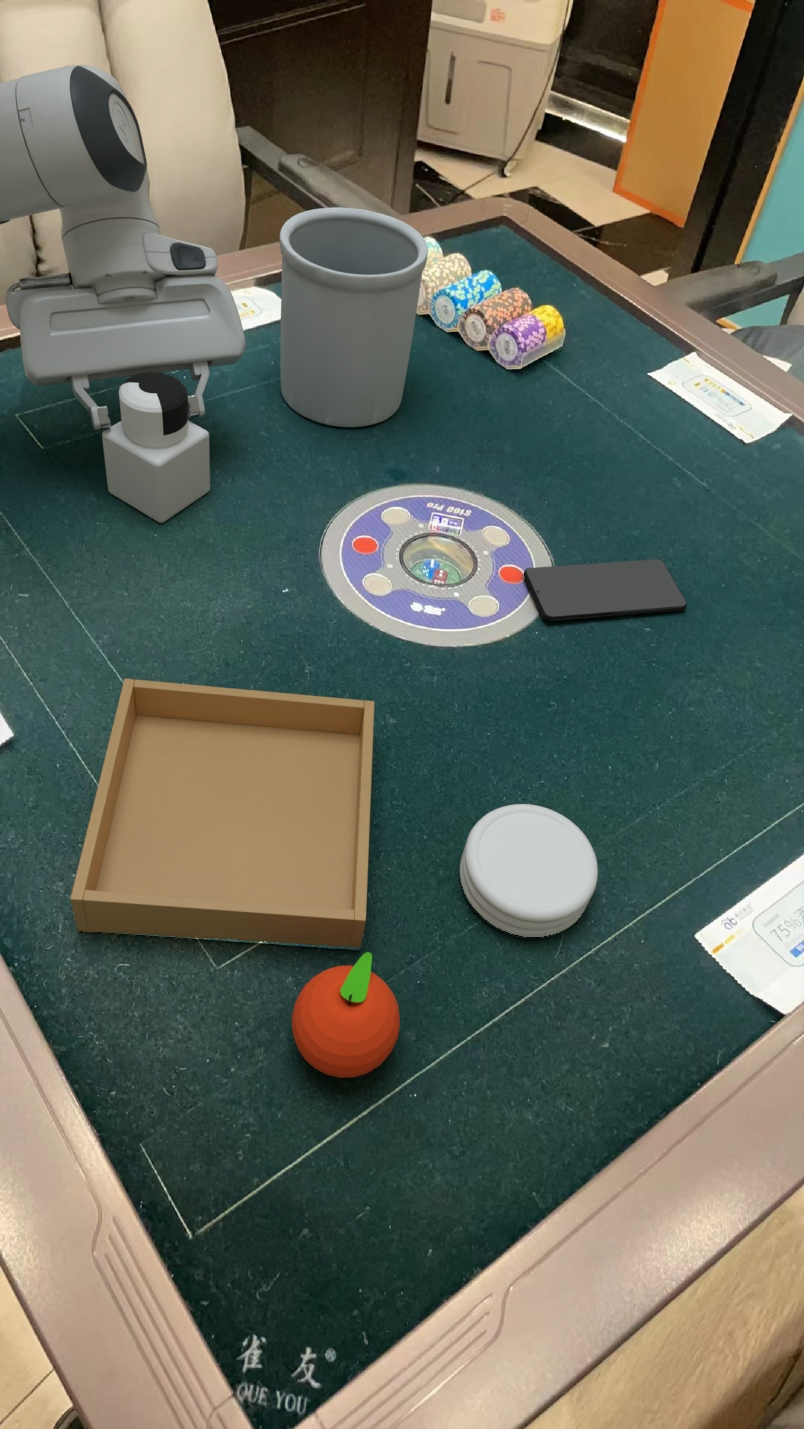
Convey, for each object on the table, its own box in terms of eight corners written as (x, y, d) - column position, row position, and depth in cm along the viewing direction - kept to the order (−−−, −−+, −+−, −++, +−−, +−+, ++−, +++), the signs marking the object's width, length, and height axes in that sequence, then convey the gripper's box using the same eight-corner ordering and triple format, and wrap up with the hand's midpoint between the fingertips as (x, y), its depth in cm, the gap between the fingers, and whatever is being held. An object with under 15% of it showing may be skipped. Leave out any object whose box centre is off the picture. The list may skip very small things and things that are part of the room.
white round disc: (608, 926, 78) (621, 902, 75) (483, 953, 75) (492, 929, 73) (558, 816, 84) (569, 791, 81) (441, 838, 81) (448, 812, 79)
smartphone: (690, 605, 101) (545, 617, 97) (686, 612, 102) (543, 624, 98) (662, 557, 105) (522, 567, 101) (659, 564, 106) (520, 573, 102)
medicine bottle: (158, 460, 106) (151, 354, 97) (211, 491, 104) (209, 385, 95) (106, 492, 102) (94, 385, 93) (161, 525, 100) (154, 418, 91)
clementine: (315, 966, 73) (322, 916, 68) (410, 999, 72) (425, 951, 67) (273, 1073, 68) (277, 1028, 62) (375, 1109, 67) (387, 1067, 62)
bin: (77, 931, 72) (69, 899, 69) (128, 714, 85) (124, 678, 82) (359, 951, 74) (366, 920, 71) (368, 736, 87) (374, 700, 83)
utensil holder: (272, 352, 121) (277, 199, 108) (399, 358, 124) (419, 210, 111) (276, 428, 112) (282, 271, 99) (413, 434, 115) (437, 281, 101)
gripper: (-1, 267, 90) (36, 430, 92) (232, 248, 96) (262, 401, 98) (1, 290, 96) (35, 443, 98) (220, 271, 102) (248, 415, 104)
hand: (151, 422), depth 98 cm, fingers closed on medicine bottle, 7 cm apart
